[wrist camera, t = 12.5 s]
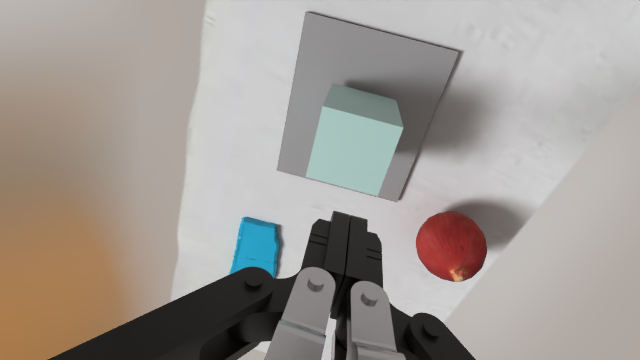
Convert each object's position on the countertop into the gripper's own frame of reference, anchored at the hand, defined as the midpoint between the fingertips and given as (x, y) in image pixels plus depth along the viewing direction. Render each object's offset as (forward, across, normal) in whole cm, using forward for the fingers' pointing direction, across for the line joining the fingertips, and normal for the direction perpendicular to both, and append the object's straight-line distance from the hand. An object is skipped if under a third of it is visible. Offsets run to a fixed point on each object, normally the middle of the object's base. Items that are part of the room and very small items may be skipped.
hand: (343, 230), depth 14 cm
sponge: (+17, +6, +20) cm, 27 cm away
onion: (+16, -11, +8) cm, 21 cm away
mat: (+16, 0, 0) cm, 16 cm away
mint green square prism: (+15, 0, 0) cm, 15 cm away
